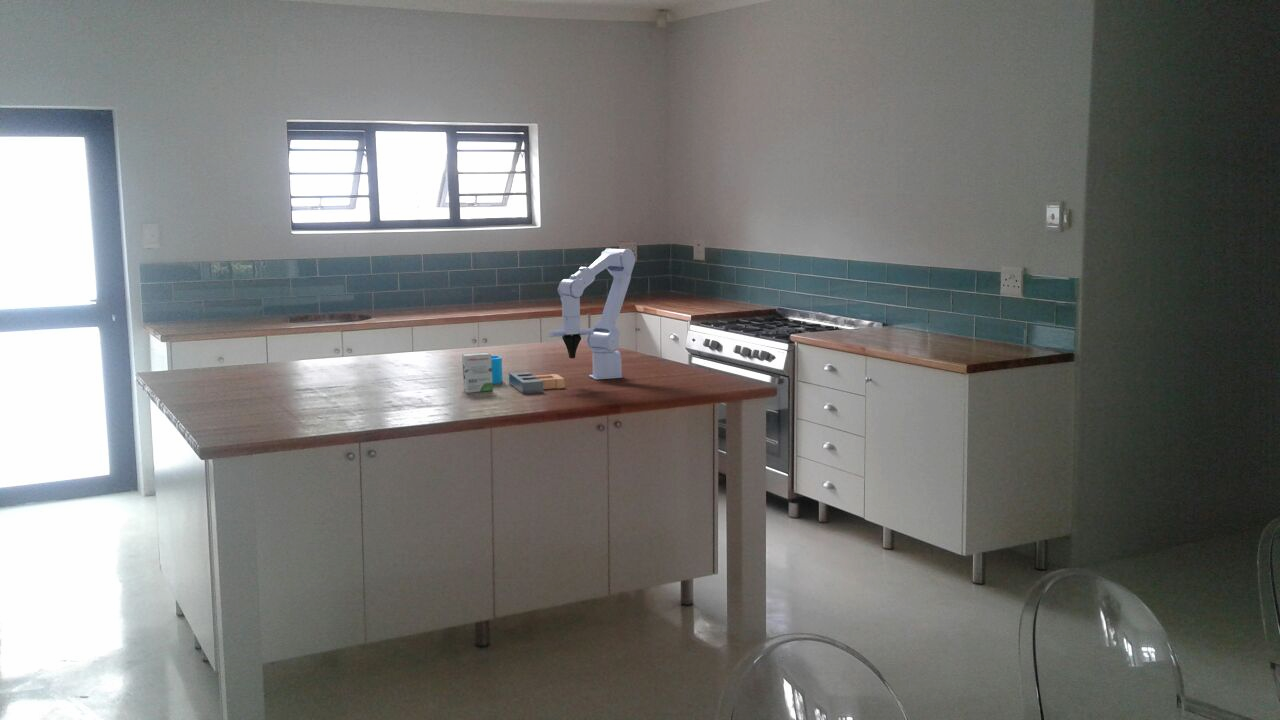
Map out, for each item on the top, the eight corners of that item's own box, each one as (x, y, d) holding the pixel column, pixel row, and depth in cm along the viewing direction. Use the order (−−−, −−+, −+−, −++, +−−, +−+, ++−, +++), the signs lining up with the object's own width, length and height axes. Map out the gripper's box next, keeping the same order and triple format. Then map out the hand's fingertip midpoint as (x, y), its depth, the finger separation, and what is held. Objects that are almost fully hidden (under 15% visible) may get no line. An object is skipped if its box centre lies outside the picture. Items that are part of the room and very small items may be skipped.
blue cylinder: (504, 383, 372) (503, 358, 371) (479, 384, 370) (478, 359, 369) (499, 377, 384) (498, 353, 383) (475, 378, 382) (474, 354, 381)
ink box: (489, 388, 363) (488, 352, 361) (493, 390, 358) (492, 354, 356) (463, 390, 360) (461, 353, 358) (466, 393, 355) (464, 355, 353)
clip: (556, 382, 371) (556, 373, 371) (564, 387, 362) (564, 378, 361) (534, 384, 369) (534, 375, 368) (541, 389, 359) (541, 380, 359)
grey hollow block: (528, 382, 373) (528, 371, 373) (543, 392, 354) (542, 381, 354) (509, 383, 371) (508, 373, 371) (522, 393, 352) (522, 382, 352)
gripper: (588, 314, 372) (589, 354, 374) (546, 316, 367) (547, 357, 369) (595, 316, 365) (596, 357, 367) (552, 318, 360) (553, 360, 362)
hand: (572, 357), depth 367 cm, fingers closed
